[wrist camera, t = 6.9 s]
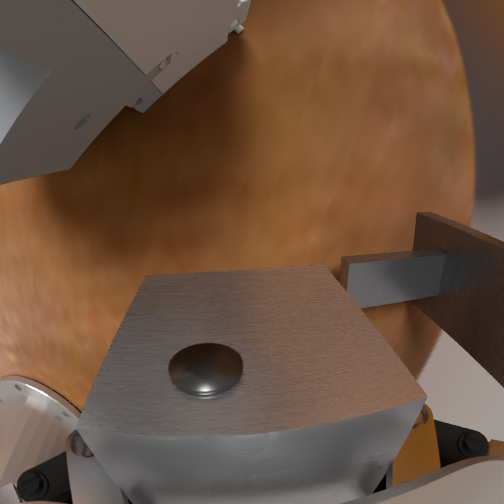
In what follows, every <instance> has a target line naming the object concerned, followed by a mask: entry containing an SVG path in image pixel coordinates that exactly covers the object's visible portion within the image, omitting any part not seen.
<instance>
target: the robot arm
mask: <svg viewBox="0 0 504 504" xmlns="http://www.w3.org/2000/svg"><path fill="white" fill-rule="evenodd" d="M80 415H81V413H80V412H79V411H78V410H77V409H76V408H75V407H74V406H72V405H71V404H70V403H69V402H68V401H67V400H65V399H64V398H63V397H61V396H60V395H58V394H57V393H56V392H54V391H52V390H51V389H49V388H47V387H46V386H44V385H42V384H40V383H38V382H36V381H33V380H30V379H28V378H25V377H20V376H7V377H4V378H2V379H1V380H0V504H133V503H132V502H131V501H130V500H129V499H128V498H127V495H126V494H125V493H124V491H123V490H122V489H121V488H120V487H119V486H117V485H116V483H115V482H114V481H113V480H112V478H111V477H110V476H109V475H108V473H107V472H106V471H105V469H104V468H103V467H102V465H101V464H100V463H99V461H98V460H97V459H96V457H95V456H94V454H93V453H92V451H91V450H90V449H89V447H88V446H87V444H86V443H85V441H84V440H83V438H82V437H81V435H80V434H79V432H78V430H77V429H76V425H77V423H78V420H79V418H80ZM339 504H504V442H503V441H498V440H493V439H492V440H491V441H490V442H488V441H487V439H486V438H485V436H484V435H483V434H481V433H480V432H478V431H475V430H471V429H467V428H463V427H460V426H456V425H452V424H448V423H444V422H441V421H437V420H434V419H433V414H432V411H431V409H430V408H429V407H428V406H427V405H426V404H425V403H424V405H423V407H422V409H421V411H420V413H419V415H418V417H417V419H416V421H415V423H414V425H413V427H412V429H411V431H410V433H409V435H408V437H407V438H406V440H405V442H404V444H403V446H402V447H401V449H400V451H399V452H398V454H397V456H396V458H395V459H394V460H392V462H391V464H390V465H389V467H388V469H387V470H386V474H385V475H384V477H383V478H382V480H381V481H380V483H379V484H378V486H377V487H376V489H375V490H374V491H373V493H372V494H371V495H368V496H364V497H361V498H358V499H354V500H350V501H347V502H343V503H339Z"/></svg>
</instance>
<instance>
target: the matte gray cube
mask: <svg viewBox="0 0 504 504" xmlns="http://www.w3.org/2000/svg"><path fill="white" fill-rule="evenodd" d="M426 399H427V395H426V393H425V392H424V391H423V389H422V388H421V387H420V385H419V384H418V382H417V381H416V380H415V378H414V377H413V376H412V374H411V373H410V372H409V370H408V369H407V368H406V366H405V365H404V364H403V362H402V361H401V360H400V358H399V357H398V356H397V355H396V353H395V352H394V351H393V349H392V348H391V347H390V345H389V344H388V343H387V342H386V340H385V339H384V338H383V336H382V335H381V334H380V333H379V331H378V330H377V329H376V328H375V326H374V325H373V324H372V323H371V321H370V320H369V319H368V318H367V316H366V315H365V314H364V313H363V311H362V310H361V309H360V308H359V306H358V305H357V304H356V303H355V301H354V300H353V299H352V298H351V296H350V295H349V294H348V293H347V292H346V290H345V289H344V288H343V287H342V286H341V284H340V283H339V282H338V281H337V280H336V278H335V277H334V276H333V275H332V274H331V272H330V271H329V270H328V269H327V268H326V266H325V265H324V264H323V265H309V266H295V267H280V268H265V269H250V270H234V271H217V272H200V273H182V274H163V275H146V276H145V278H144V280H143V282H142V283H141V285H140V287H139V289H138V291H137V293H136V295H135V297H134V299H133V301H132V303H131V305H130V307H129V309H128V311H127V313H126V315H125V317H124V319H123V321H122V323H121V325H120V327H119V329H118V331H117V333H116V335H115V337H114V339H113V341H112V344H111V346H110V348H109V350H108V352H107V354H106V357H105V359H104V361H103V363H102V365H101V368H100V370H99V372H98V374H97V377H96V379H95V381H94V384H93V386H92V388H91V391H90V393H89V395H88V398H87V400H86V403H85V405H84V408H83V410H82V413H81V415H80V418H79V420H78V423H77V425H76V429H77V430H78V432H79V434H80V435H81V437H82V438H83V440H84V441H85V443H86V444H87V446H88V447H89V449H90V450H91V451H92V453H93V454H94V456H95V457H96V459H97V460H98V461H99V463H100V464H101V465H102V467H103V468H104V469H105V471H106V472H107V473H108V475H109V476H110V477H111V478H112V480H113V481H114V482H115V483H116V485H117V486H119V487H120V488H121V489H122V490H123V491H124V493H125V494H126V495H127V498H128V499H129V500H130V501H131V502H132V503H133V504H339V503H343V502H347V501H350V500H354V499H358V498H361V497H364V496H368V495H371V494H372V493H373V491H374V490H375V489H376V487H377V486H378V484H379V483H380V481H381V480H382V478H383V477H384V475H385V474H386V470H387V469H388V467H389V465H390V464H391V462H392V460H394V459H395V458H396V456H397V454H398V452H399V451H400V449H401V447H402V446H403V444H404V442H405V440H406V438H407V437H408V435H409V433H410V431H411V429H412V427H413V425H414V423H415V421H416V419H417V417H418V415H419V413H420V411H421V409H422V407H423V405H424V403H425V401H426Z"/></svg>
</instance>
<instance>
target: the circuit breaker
mask: <svg viewBox="0 0 504 504" xmlns="http://www.w3.org/2000/svg"><path fill="white" fill-rule="evenodd" d="M250 4H251V0H0V185H2V184H6V183H10V182H14V181H18V180H22V179H26V178H31V177H35V176H40V175H45V174H50V173H55V172H60V171H65V170H69V169H70V168H71V167H72V166H73V165H74V164H75V162H76V161H77V160H78V159H79V157H80V156H81V155H82V154H83V152H84V151H85V150H86V149H87V148H88V146H89V145H90V144H91V143H92V142H93V140H94V139H95V138H96V137H97V136H98V135H99V134H100V132H101V131H102V130H103V129H104V128H105V127H106V126H107V125H108V124H109V122H110V121H111V120H112V119H113V118H114V117H115V116H116V115H117V114H118V113H119V112H120V111H121V110H122V109H123V108H124V107H125V106H128V107H131V108H132V107H133V108H134V109H135V110H137V111H139V112H141V113H144V112H145V111H146V110H147V109H148V108H149V107H150V106H151V105H152V104H153V103H154V102H155V101H156V100H157V99H159V98H160V97H161V96H162V95H163V94H164V93H165V92H166V91H167V90H168V89H169V88H171V87H172V86H173V85H174V84H175V83H176V82H177V81H178V80H180V79H181V78H182V77H183V76H184V75H185V74H187V73H188V72H189V71H190V70H191V69H193V68H194V67H195V66H196V65H197V64H199V63H200V62H201V61H202V60H204V59H205V58H206V57H207V56H209V55H210V54H211V53H213V52H214V51H215V50H216V49H218V48H219V47H220V46H222V45H223V44H225V43H226V42H227V39H228V34H229V33H230V32H232V31H233V30H235V31H236V32H237V33H240V32H241V31H243V29H244V28H243V27H242V26H241V25H240V24H242V23H243V22H245V21H246V18H247V14H248V11H249V7H250ZM151 82H152V83H151Z"/></svg>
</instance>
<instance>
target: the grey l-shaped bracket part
mask: <svg viewBox="0 0 504 504" xmlns="http://www.w3.org/2000/svg"><path fill="white" fill-rule="evenodd" d="M339 283H340V284H341V286H342V287H343V288H344V289H345V290H346V292H347V293H348V294H349V295H350V296H351V298H352V299H353V300H354V301H355V303H356V304H357V305H358V306H359V308H366V307H373V306H379V305H385V304H392V303H397V302H403V301H409V300H410V301H411V302H412V303H413V304H414V305H416V306H417V307H418V308H419V309H420V310H421V311H423V312H424V313H425V314H426V315H427V316H428V317H429V318H430V319H432V320H433V321H434V322H435V323H436V324H437V325H438V326H439V327H441V328H442V329H443V330H444V331H445V332H446V333H447V334H448V335H449V336H450V337H452V338H453V339H454V340H455V341H456V342H457V343H458V344H459V345H460V346H461V347H462V348H463V349H465V350H466V351H467V352H468V353H469V354H470V355H471V356H472V357H473V358H474V359H475V360H476V361H477V362H478V363H479V364H480V365H481V366H482V367H483V368H484V369H486V371H487V372H489V373H490V375H492V376H493V377H494V378H495V379H496V380H497V381H498V382H499V383H500V385H502V386H503V387H504V242H503V241H501V240H499V239H496V238H494V237H492V236H489V235H487V234H485V233H482V232H480V231H478V230H475V229H473V228H470V227H468V226H465V225H463V224H460V223H458V222H455V221H453V220H450V219H448V218H445V217H442V216H440V215H437V214H434V213H431V212H417V220H416V230H415V239H414V247H413V251H406V252H394V253H382V254H369V255H356V256H344V257H341V269H340V281H339Z"/></svg>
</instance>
